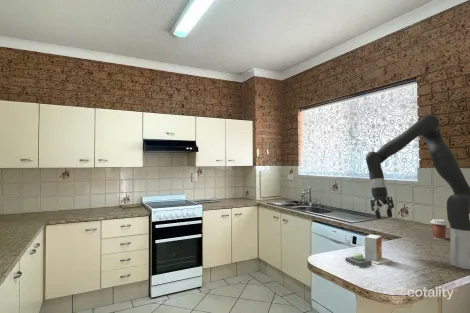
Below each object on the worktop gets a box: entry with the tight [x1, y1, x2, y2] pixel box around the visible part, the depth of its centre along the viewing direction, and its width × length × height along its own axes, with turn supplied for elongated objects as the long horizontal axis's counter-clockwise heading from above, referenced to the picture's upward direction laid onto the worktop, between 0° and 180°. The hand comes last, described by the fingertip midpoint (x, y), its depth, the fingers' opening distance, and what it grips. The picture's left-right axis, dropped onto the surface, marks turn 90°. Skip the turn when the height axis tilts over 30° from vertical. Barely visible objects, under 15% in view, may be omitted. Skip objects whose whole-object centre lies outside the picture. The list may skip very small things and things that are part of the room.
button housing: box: [344, 255, 373, 268], centre depth 129 cm, size 8×8×2 cm
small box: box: [364, 233, 383, 261], centre depth 135 cm, size 8×6×10 cm
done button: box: [352, 252, 364, 261], centre depth 129 cm, size 4×4×2 cm
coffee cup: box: [429, 218, 449, 241], centre depth 177 cm, size 9×9×12 cm
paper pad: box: [363, 256, 393, 266], centre depth 134 cm, size 11×11×1 cm
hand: (384, 217), depth 144 cm, fingers open, 8 cm apart
